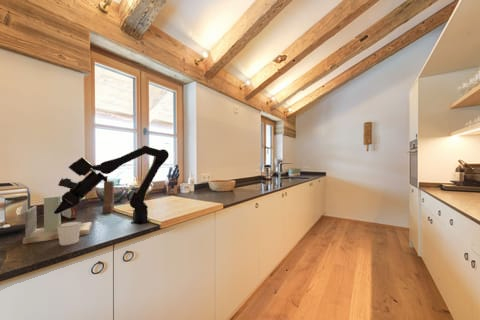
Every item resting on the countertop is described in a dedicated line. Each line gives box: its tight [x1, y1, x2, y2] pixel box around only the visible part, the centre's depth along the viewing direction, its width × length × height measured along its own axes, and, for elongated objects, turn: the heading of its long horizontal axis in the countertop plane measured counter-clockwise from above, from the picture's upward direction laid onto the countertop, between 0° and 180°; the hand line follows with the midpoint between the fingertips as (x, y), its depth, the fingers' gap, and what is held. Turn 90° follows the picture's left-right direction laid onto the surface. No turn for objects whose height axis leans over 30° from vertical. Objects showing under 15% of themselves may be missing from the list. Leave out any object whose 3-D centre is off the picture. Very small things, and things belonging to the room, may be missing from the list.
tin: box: [61, 205, 78, 220], centre depth 113 cm, size 15×3×8 cm, turn 58°
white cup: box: [57, 221, 82, 246], centre depth 80 cm, size 7×7×7 cm
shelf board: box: [22, 205, 93, 245], centre depth 88 cm, size 20×12×12 cm, turn 121°
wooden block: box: [102, 180, 115, 215], centre depth 124 cm, size 9×4×18 cm, turn 23°
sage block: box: [43, 194, 62, 232], centre depth 87 cm, size 4×4×14 cm
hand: (57, 210), depth 88 cm, fingers open, 9 cm apart
